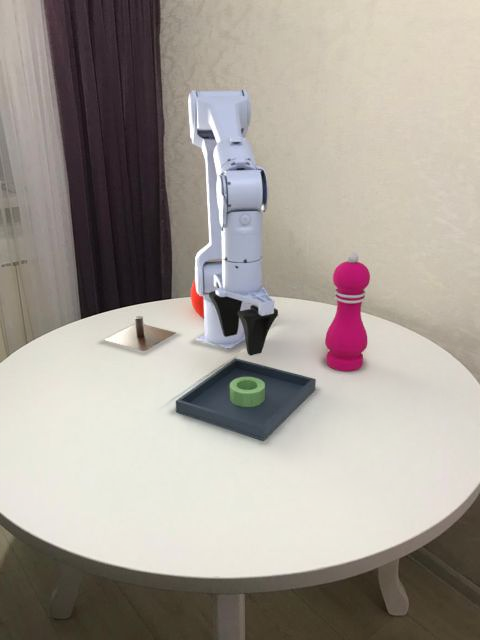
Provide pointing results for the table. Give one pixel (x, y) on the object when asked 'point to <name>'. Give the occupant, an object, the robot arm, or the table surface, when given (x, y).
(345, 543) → the table surface
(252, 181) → the robot arm
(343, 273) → the pepper mill
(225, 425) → the tray
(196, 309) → the tomato
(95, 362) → the table surface
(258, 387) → the ring
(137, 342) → the stand
